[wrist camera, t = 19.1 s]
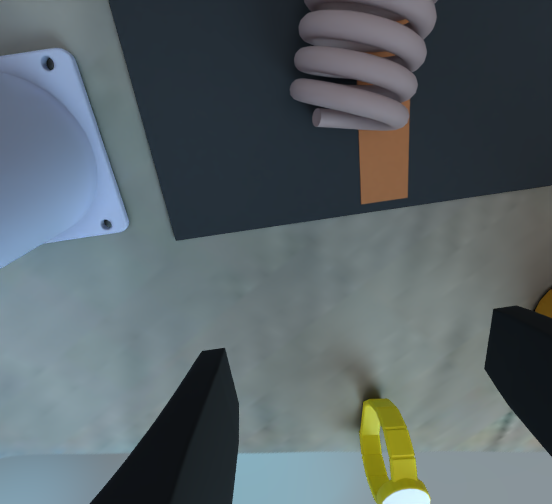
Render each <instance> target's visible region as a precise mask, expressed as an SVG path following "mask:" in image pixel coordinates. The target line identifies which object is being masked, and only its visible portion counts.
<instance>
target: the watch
mask: <svg viewBox="0 0 552 504" xmlns="http://www.w3.org/2000/svg"><path fill="white" fill-rule="evenodd" d="M380 424H381V427H382V429H383V431H384V437H385V441H386V446H387V450H388V454H389V457H390V458H389V461H390V472H391V480H389V478H388V476H387V472H386V468H385V464H384V461H383V457H382V451H381V444H380V436H379V431H380ZM359 433H360V434H359V436H360V445H361V454H362V455H363V456H362V459H363V463H364V468H365V473H366V477H367V481H368V484H369V486H370V489H371V492H372V495H373V498H374V500H375V501H376V503H377V504H430V496H429V494H428V491H427V489H426V487H425V485H424V483H423V482H422V481H420V480H419V479H418V478H417V469H416V460H415V458H414V455H415V454H414V450H413V447H412V443H411V439H410V436H409V432H408V430H407V426H406V424H405V422H404V420H403V418H402V416H401V414H400V412H399V410H398V409H397V407H396V406H395V405H394V404H393V403H392V402H391V401H390V400H389V399H368V400H366V401H364V402H363V410H362V418H361V427H360V431H359Z"/></svg>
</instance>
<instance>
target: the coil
mask: <svg viewBox="0 0 552 504" xmlns="http://www.w3.org/2000/svg"><path fill="white" fill-rule="evenodd" d="M437 1H438V0H304V3H305V4H306V6H307V7H308V9H309V10H310V11H311V12H310V13H308V14H306V15H305V16H304V17H303V18H302V19H301V20H300V24H299V35H300V36H301V38H302V39H303V40H304V41H305V42H307V43H309V44H312V45H314V46H308V47H303V48H300V49H299V50H298V51H297V52H296V54H295V57H294V63H295V66H296V68H297V69H298V70H299V71H301V72H304V73H307V74H311V75H317V76H324V77H332V78H344V79H354V80H358V81H362V82H366V83H369V84H373V85H346V84H336V83H331V82H325V81H319V80H313V79H305V78H300V79H296V80H295V81H294V82H292V83H291V86H290V95H291V96H292V97H293V99H294V100H297V101H300V102H303V103H308V104H312V105H316V106H321V107H325V108H329V109H324V108H317V109H315V111H314V112H313V116H312V122H313V125H314V126H315V127H326V128H342V129H358V130H379V131H389V130H397V129H400V128H402V127H404V126H405V125H406V124H407V122H408V119H409V112H408V109H407V108H406V107H405V106H404V105H403V104H401V103H402V102H405V101H407V100H409V99H410V98H411V97H412V96H413V95H414V94H415V93H416V90H417V87H418V83H417V79H416V76H415V75H414V74H413V73H412V72H414V71H416V70H417V69H418V68H419V67H420V66H421V65H422V64H423V63H424V61H425V58H426V54H427V49H426V45H425V42H424V39H425V38H426V37H427V36H428V35H429V34H430V33H431V31H432V30H433V28H434V25H435V22H436V18H437V15H436V9H435V5H434V4H435V3H436V2H437ZM404 19H406V20H408V21H409V22H408V23H406V24H404V25H402V24H400V23H398V22H396V21H400V20H404ZM384 51H387V52H390V53H392V54H394V55H395V56H390V57H379V56H375V55H372V54H368V53H364V52H384Z"/></svg>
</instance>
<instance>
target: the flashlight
mask: <svg viewBox="0 0 552 504" xmlns="http://www.w3.org/2000/svg"><path fill="white" fill-rule="evenodd" d="M535 312H537V313H539V314H542V315H545V316H547V317H550V318H552V289H551V290H549V291H548V292H547V294H546V295H545V296H544V297H543V298H542V299H541V300H540V302H539V304H538V306H537V308H536V310H535Z"/></svg>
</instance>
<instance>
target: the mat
mask: <svg viewBox="0 0 552 504" xmlns="http://www.w3.org/2000/svg"><path fill="white" fill-rule="evenodd" d="M109 4H110V7H111V11H112V14H113V18H114V21H115V25H116V29H117V32H118V36H119V39H120V43H121V46H122V50H123V54H124V57H125V61H126V64H127V68H128V71H129V75H130V79H131V82H132V86H133V89H134V93H135V96H136V100H137V104H138V107H139V111H140V114H141V118H142V121H143V125H144V129H145V132H146V136H147V139H148V143H149V146H150V150H151V154H152V157H153V161H154V164H155V168H156V171H157V175H158V179H159V182H160V186H161V189H162V193H163V196H164V200H165V204H166V207H167V211H168V214H169V218H170V221H171V225H172V229H173V232H174V236H175V239H176V241H177V240H184V239H191V238H198V237H204V236H211V235H218V234H225V233H231V232H238V231H245V230H252V229H259V228H265V227H272V226H279V225H286V224H292V223H299V222H306V221H313V220H320V219H326V218H333V217H340V216H347V215H353V214H360V213H367V212H374V211H381V210H387V209H394V208H401V207H408V206H414V205H421V204H428V203H435V202H442V201H448V200H455V199H462V198H469V197H475V196H482V195H489V194H496V193H503V192H509V191H516V190H523V189H530V188H536V187H543V186H550V185H552V0H438V1H437V2H436V3H435V4H434V5H435V9H436V15H437V18H436V22H435V25H434V28H433V30H432V31H431V33H430V34H429V35H428V36H427V37H426V38H425V39H424V42H425V45H426V49H427V54H426V58H425V61H424V63H423V64H422V65H421V66H420V67H419V68H418V69H417V70H416V71H414V72H412V73H413V74H414V75H415V76H416V79H417V83H418V87H417V90H416V93H415V94H414V95H413V96H412V97H411V98H410V99H409V100H407V101H405V102H402V103H401V104H403V105H404V106H405V107H406V108H407V109H408V112H409V119H408V122H407V124H406V125H405V126H404V127H402V128H400V129H397V130H389V131H379V130H358V129H342V128H326V127H315V126H314V125H313V122H312V116H313V112H314V111H315V109H317V108H324V109H329V108H325V107H321V106H316V105H312V104H308V103H303V102H300V101H297V100H294V99H293V97H292V96H291V95H290V86H291V83H292V82H294V81H295V80H296V79H300V78H305V79H313V80H319V81H325V82H331V83H336V84H346V85H373V84H369V83H366V82H362V81H358V80H354V79H344V78H332V77H324V76H317V75H311V74H307V73H304V72H301V71H299V70H298V69H297V68H296V66H295V63H294V57H295V54H296V52H297V51H298V50H299V49H300V48H303V47H308V46H314V45H312V44H309V43H307V42H305V41H304V40H303V39H302V38H301V36H300V35H299V24H300V20H301V19H302V18H303V17H304V16H305V15H306V14H308V13H310V12H311V11H310V10H309V9H308V7H307V6H306V4H305V3H304V0H109ZM396 22H398V23H400V24H402V25H404V24H406V23H408V22H409V21H408V20H406V19H404V20H400V21H396ZM364 53H368V54H372V55H375V56H379V57H390V56H395V55H394V54H392V53H390V52H387V51H384V52H364Z"/></svg>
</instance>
